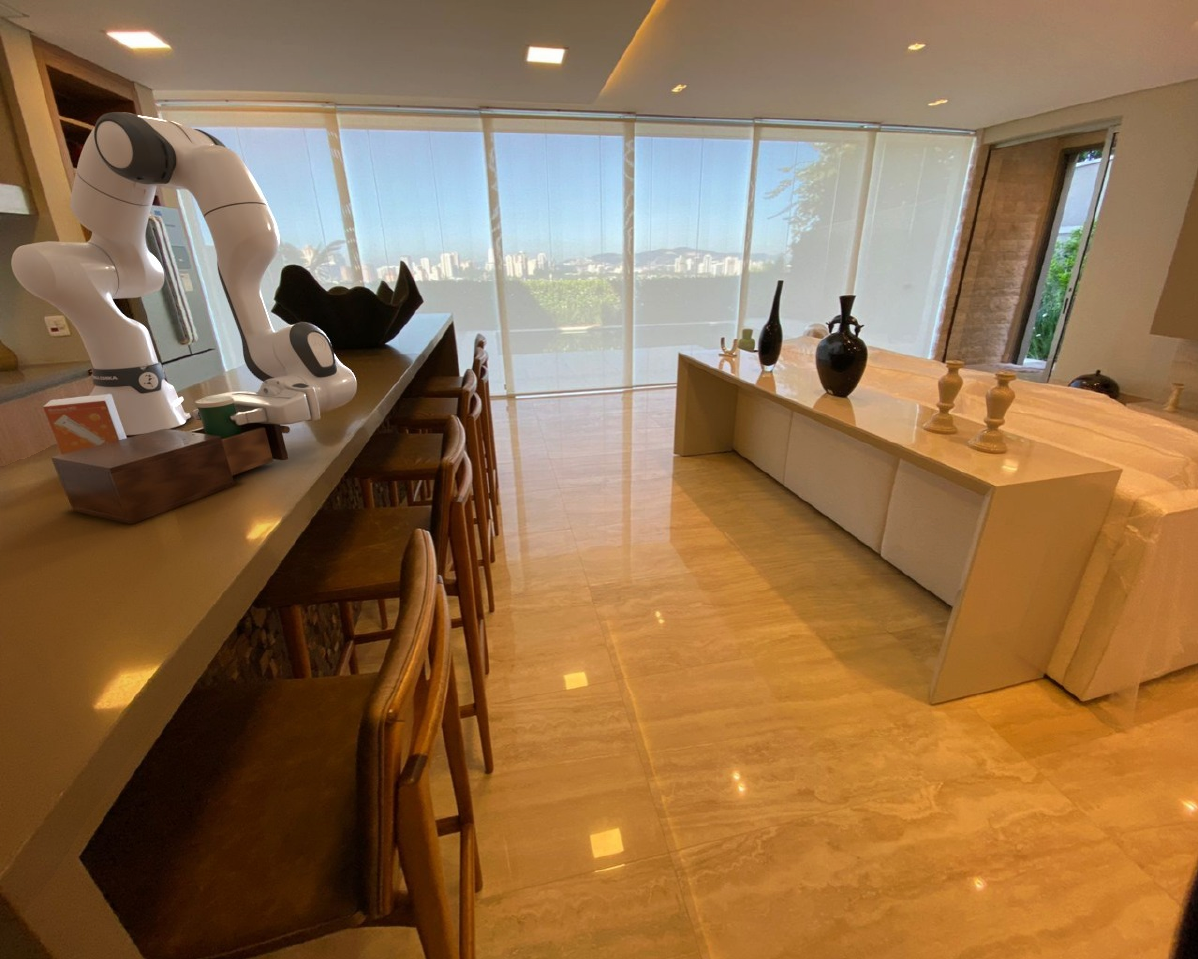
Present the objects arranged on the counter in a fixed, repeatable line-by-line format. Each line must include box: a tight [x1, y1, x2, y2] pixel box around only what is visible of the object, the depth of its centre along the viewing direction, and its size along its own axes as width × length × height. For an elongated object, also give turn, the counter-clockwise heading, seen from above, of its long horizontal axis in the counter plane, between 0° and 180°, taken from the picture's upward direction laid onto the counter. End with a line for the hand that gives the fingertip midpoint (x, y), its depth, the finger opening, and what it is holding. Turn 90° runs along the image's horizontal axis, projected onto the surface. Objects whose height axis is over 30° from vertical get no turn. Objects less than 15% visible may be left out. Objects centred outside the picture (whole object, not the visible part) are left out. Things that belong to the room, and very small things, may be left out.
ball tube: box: [194, 396, 242, 439], centre depth 92 cm, size 5×5×11 cm
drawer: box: [186, 422, 291, 477], centre depth 94 cm, size 19×12×7 cm, turn 159°
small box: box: [42, 394, 127, 455], centre depth 94 cm, size 8×6×13 cm
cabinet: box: [50, 428, 236, 525], centre depth 82 cm, size 16×14×9 cm
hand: (214, 417), depth 91 cm, fingers open, 8 cm apart
